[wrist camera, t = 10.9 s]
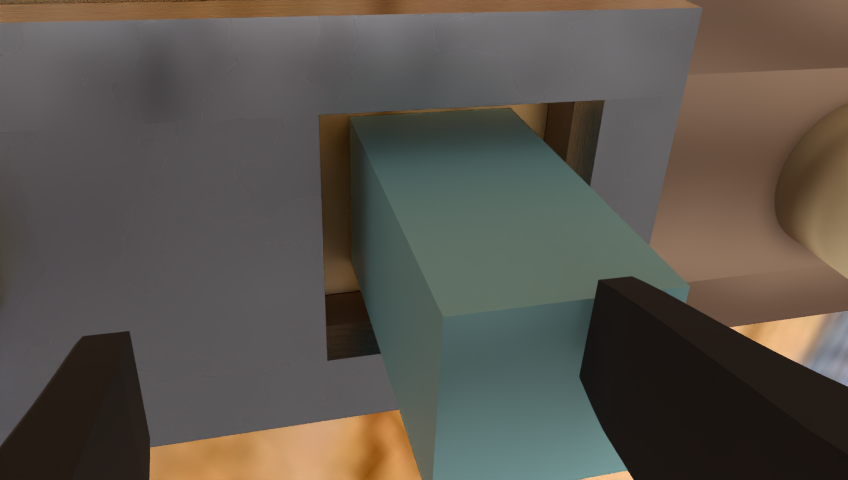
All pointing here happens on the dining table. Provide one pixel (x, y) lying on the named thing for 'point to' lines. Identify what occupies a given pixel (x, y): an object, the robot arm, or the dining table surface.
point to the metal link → (269, 175)
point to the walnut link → (747, 165)
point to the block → (487, 290)
